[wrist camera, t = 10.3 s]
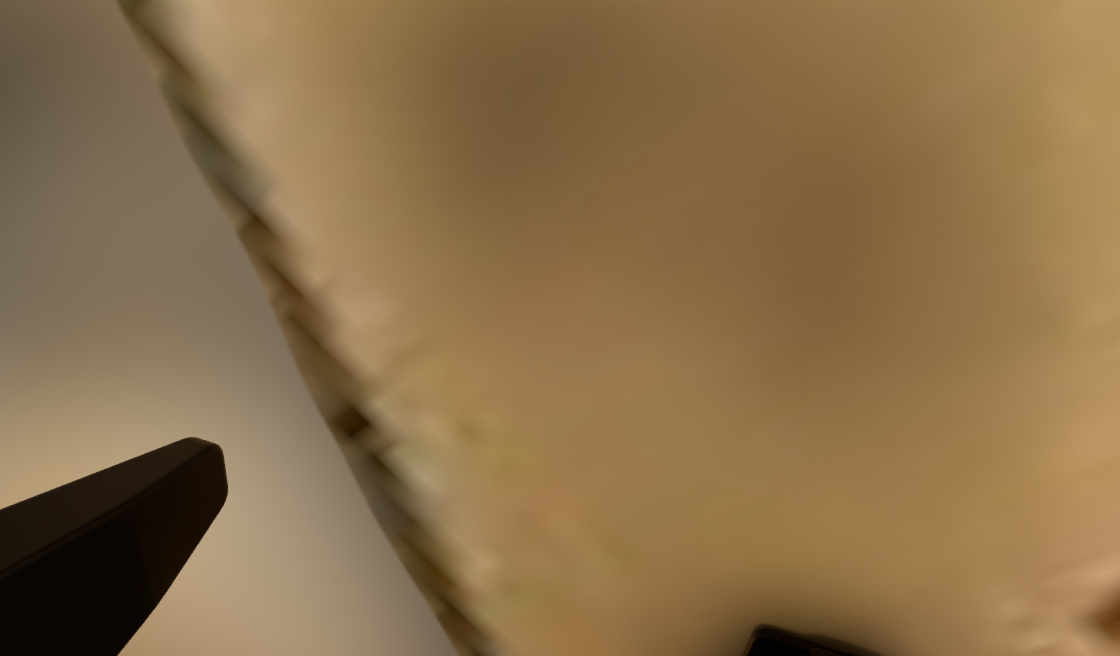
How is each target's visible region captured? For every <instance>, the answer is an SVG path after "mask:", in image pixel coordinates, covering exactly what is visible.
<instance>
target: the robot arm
mask: <svg viewBox="0 0 1120 656" xmlns="http://www.w3.org/2000/svg"><path fill="white" fill-rule="evenodd" d="M227 494H228V483H227V476H226V469H225V462H224V455H223V451H222V449H221V448H220V446H219V445H217V444H215V443H212V442H209V441H206V440H202V439H199V438H195V437H189V438H185V439H182V440H179V441H176V442H174V443H171V444H169V445H166V446H163V447H161V448H158V449H156V450H153V451H151V452H148V453H145V454H143V455H141V456H138V457H135V458H132V459H130V460H127V461H125V462H122V463H119V464H117V465H114V466H112V467H109V468H107V469H104V470H101V471H99V472H96V473H93V474H91V475H88V476H86V477H83V478H81V479H78V480H75V481H73V482H71V483H68V484H65V485H62V486H60V487H57V488H55V489H52V490H49V491H47V492H44V493H42V494H39V495H37V496H34V497H31V498H29V499H26V500H24V501H21V502H18V503H16V504H13V505H11V506H8V507H5V508H3V509H0V656H117V655H118V654H119V653H120V652H121V650H122V649H123V648H124V647H125V645H126V644H127V643H128V642H129V640H130V639H131V638H132V637H133V636H134V634H135V633H136V632H137V630H138V629H139V628H140V627H141V626H142V624H143V623H144V622H145V621H146V619H147V618H148V617H149V615H150V614H151V613H152V611H153V610H154V609H155V608H156V606H157V605H158V603H159V602H160V601H161V599H162V598H163V596H164V595H165V593H166V592H167V591H168V589H169V588H170V586H171V585H172V583H173V581H174V580H175V579H176V577H177V576H178V574H179V572H180V571H181V569H182V568H183V566H184V565H185V563H186V562H187V560H188V559H189V557H190V556H191V554H192V553H193V551H194V550H195V548H196V546H197V545H198V544H199V542H200V541H201V539H202V538H203V536H204V535H205V533H206V532H207V530H208V529H209V527H210V526H211V524H212V522H213V521H214V519H215V518H216V516H217V515H218V513H219V512H220V510H221V508H222V507H223V505H224V503H225V501H226V498H227ZM743 656H852V655H849V654H846V653H843V652H840V651H837V650H834V649H830V648H827V647H824V646H821V645H818V644H815V643H812V642H809V641H805V640H802V639H799V638H796V637H793V636H790V635H787V634H783V633H780V632H777V631H774V630H771V629H766V628H764V629H758V630H756V631H755V632H754V633H753V635H752V637H751V639H750V642H749V644H748V646H747V648H746V650H745V652H744V654H743Z"/></svg>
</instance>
